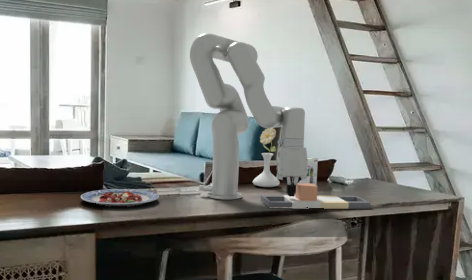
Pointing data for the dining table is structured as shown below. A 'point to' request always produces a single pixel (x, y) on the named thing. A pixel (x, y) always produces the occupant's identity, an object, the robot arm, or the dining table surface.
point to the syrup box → (311, 171)
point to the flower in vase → (267, 161)
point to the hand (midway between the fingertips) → (290, 195)
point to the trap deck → (317, 202)
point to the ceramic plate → (119, 197)
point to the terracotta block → (306, 192)
